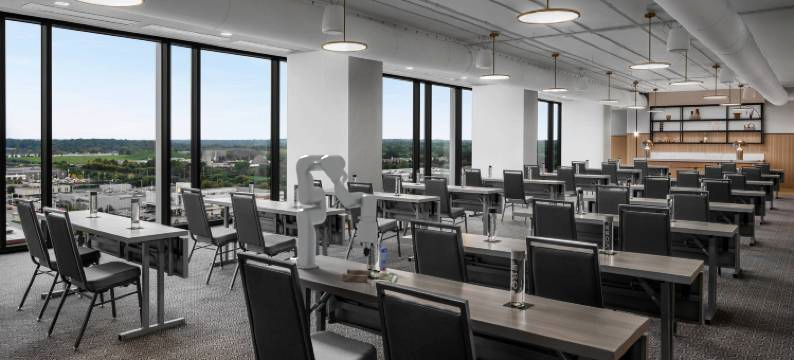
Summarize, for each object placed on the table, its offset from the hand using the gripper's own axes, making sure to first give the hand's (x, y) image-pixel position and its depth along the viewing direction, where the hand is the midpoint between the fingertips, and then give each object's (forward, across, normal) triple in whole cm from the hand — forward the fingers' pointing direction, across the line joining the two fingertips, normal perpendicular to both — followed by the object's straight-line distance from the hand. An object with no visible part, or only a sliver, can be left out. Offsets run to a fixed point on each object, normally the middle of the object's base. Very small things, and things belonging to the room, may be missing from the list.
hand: (366, 255), depth 287 cm
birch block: (+12, +10, 0) cm, 15 cm away
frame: (+11, +10, 0) cm, 15 cm away
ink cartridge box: (+12, +3, +20) cm, 23 cm away
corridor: (+12, -4, 0) cm, 12 cm away
